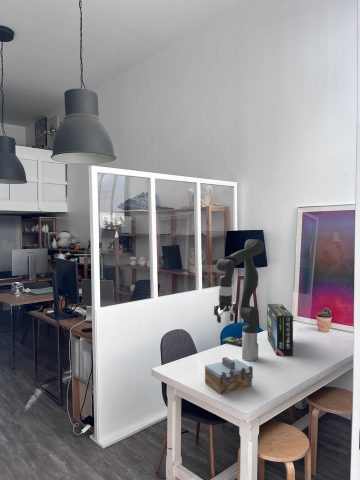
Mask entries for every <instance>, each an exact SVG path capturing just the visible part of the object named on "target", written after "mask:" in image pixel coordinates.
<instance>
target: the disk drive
mask: <svg viewBox="0 0 360 480" xmlns="http://www.w3.org/2000/svg"><path fill="white" fill-rule="evenodd" d="M221 342H222V344H226V345H232V346H235V347H241V348H242V338H238V337H233V336H227V337H225V338H223V339H222V340H221Z"/></svg>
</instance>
